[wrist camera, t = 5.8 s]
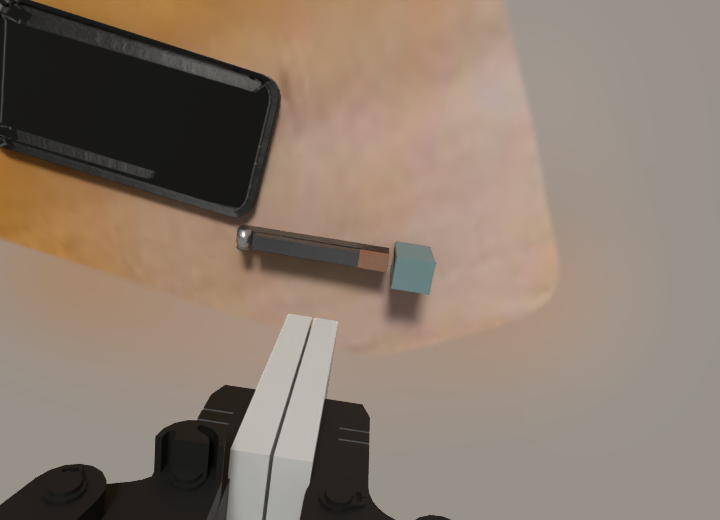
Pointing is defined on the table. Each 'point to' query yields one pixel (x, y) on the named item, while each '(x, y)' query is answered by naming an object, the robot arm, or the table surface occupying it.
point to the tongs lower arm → (313, 239)
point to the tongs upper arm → (313, 250)
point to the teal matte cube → (412, 268)
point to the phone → (133, 108)
